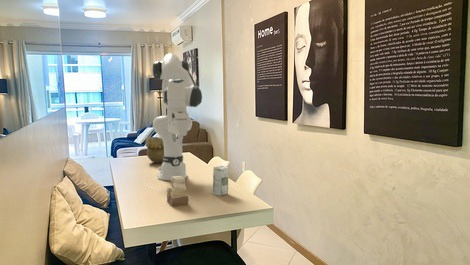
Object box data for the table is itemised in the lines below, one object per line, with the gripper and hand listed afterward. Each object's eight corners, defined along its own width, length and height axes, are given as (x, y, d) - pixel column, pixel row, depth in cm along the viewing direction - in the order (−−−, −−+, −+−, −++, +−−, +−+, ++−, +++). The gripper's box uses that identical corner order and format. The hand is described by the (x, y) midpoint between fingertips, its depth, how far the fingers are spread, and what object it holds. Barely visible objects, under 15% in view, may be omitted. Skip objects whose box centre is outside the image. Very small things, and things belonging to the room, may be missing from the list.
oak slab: (167, 194, 170) (167, 186, 170) (180, 192, 174) (180, 184, 174) (173, 198, 165) (173, 190, 164) (186, 196, 168) (186, 188, 168)
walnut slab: (167, 202, 171) (167, 194, 171) (182, 200, 175) (182, 192, 175) (171, 207, 164) (171, 199, 164) (188, 205, 168) (188, 196, 167)
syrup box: (220, 192, 190) (220, 165, 188) (228, 194, 186) (228, 166, 184) (212, 194, 185) (212, 166, 184) (221, 196, 181) (221, 168, 180)
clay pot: (155, 159, 281) (154, 134, 279) (179, 161, 274) (178, 135, 272) (139, 164, 262) (139, 137, 260) (164, 166, 255) (164, 138, 252)
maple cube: (171, 186, 170) (171, 176, 169) (181, 185, 172) (181, 175, 171) (174, 189, 165) (174, 179, 165) (185, 188, 168) (185, 178, 167)
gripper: (164, 112, 173) (164, 141, 174) (176, 115, 154) (176, 146, 156) (177, 112, 176) (177, 140, 177) (190, 115, 157) (190, 146, 159)
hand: (176, 143), depth 166 cm, fingers open, 8 cm apart
